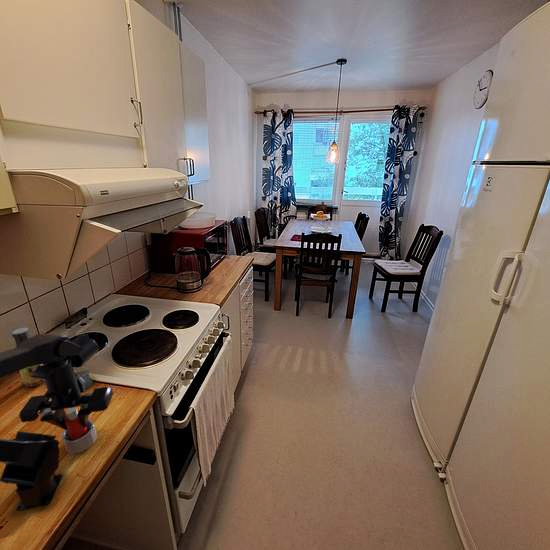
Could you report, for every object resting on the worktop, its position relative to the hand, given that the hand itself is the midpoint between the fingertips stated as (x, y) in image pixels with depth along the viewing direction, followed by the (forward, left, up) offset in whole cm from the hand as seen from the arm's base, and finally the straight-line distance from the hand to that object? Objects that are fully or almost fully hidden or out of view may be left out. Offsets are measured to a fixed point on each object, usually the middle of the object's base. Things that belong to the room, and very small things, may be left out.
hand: (77, 427), depth 74 cm
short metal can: (0, 0, -6) cm, 6 cm away
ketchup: (0, 0, -5) cm, 5 cm away
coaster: (+23, +9, -6) cm, 25 cm away
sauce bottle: (+28, +24, -6) cm, 37 cm away
